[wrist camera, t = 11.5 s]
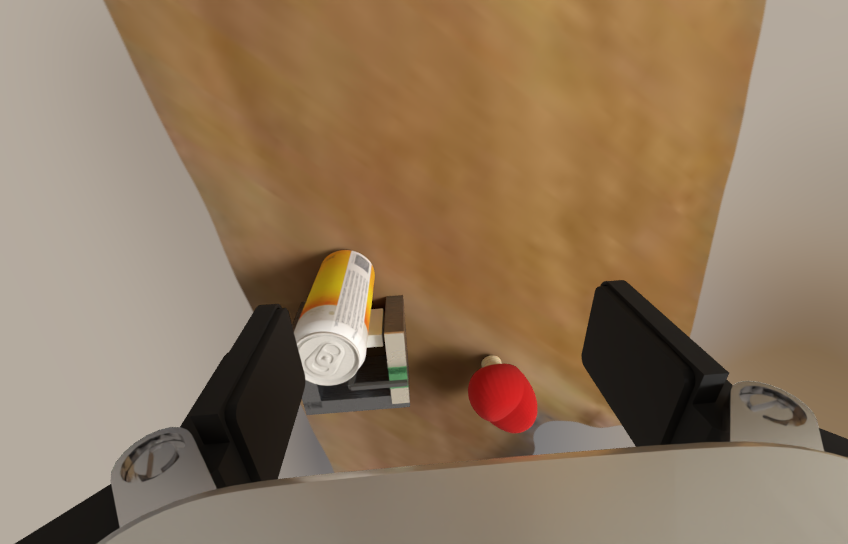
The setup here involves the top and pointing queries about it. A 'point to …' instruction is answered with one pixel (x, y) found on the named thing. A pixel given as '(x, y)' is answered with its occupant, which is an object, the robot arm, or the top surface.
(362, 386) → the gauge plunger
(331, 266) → the beer can
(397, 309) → the gauge frame
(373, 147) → the top surface
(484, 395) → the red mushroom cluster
